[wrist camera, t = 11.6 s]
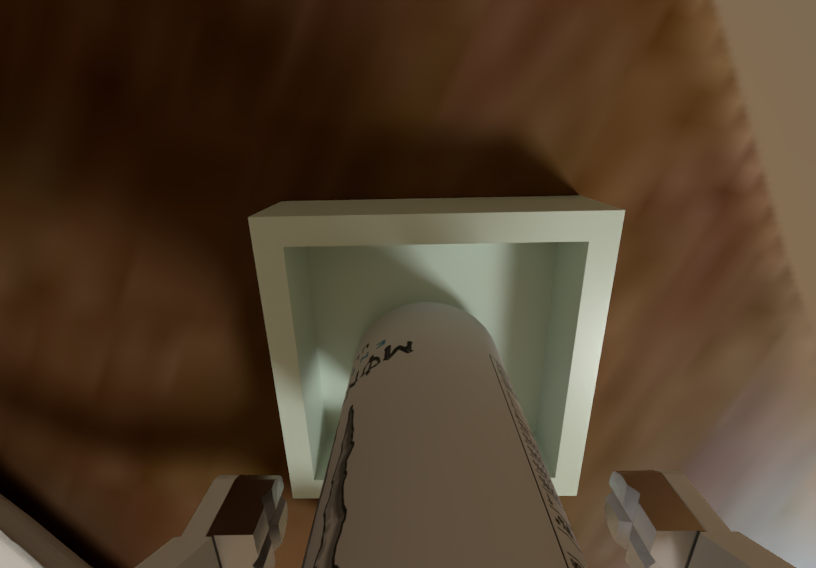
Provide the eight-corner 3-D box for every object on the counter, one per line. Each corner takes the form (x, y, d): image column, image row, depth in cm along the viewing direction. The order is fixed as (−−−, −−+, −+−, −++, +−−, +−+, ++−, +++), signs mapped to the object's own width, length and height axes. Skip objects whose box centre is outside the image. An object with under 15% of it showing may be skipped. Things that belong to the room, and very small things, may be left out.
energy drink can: (376, 276, 16) (131, 1253, 2) (513, 313, 17) (1099, 1287, 2) (344, 395, 18) (111, 1301, 4) (468, 424, 19) (651, 1315, 4)
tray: (281, 201, 16) (247, 217, 13) (580, 195, 16) (625, 210, 12) (312, 439, 20) (293, 498, 17) (548, 436, 20) (576, 495, 17)
